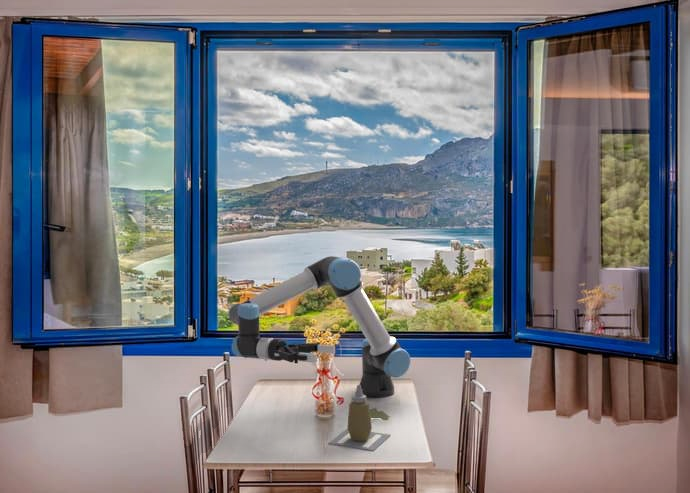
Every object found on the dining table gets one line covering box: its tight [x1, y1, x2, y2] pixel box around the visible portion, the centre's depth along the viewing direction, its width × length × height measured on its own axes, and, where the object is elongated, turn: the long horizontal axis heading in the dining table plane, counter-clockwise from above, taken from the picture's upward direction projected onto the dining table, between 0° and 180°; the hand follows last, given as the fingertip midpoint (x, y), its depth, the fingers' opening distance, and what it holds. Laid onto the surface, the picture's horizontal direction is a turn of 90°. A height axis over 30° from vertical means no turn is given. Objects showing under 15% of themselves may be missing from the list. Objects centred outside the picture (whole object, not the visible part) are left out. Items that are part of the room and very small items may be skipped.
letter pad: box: [328, 427, 391, 452], centre depth 200 cm, size 15×16×1 cm
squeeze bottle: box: [347, 384, 373, 441], centre depth 200 cm, size 8×8×18 cm
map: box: [370, 407, 390, 421], centre depth 222 cm, size 11×18×1 cm, turn 15°
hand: (325, 354), depth 204 cm, fingers open, 13 cm apart
